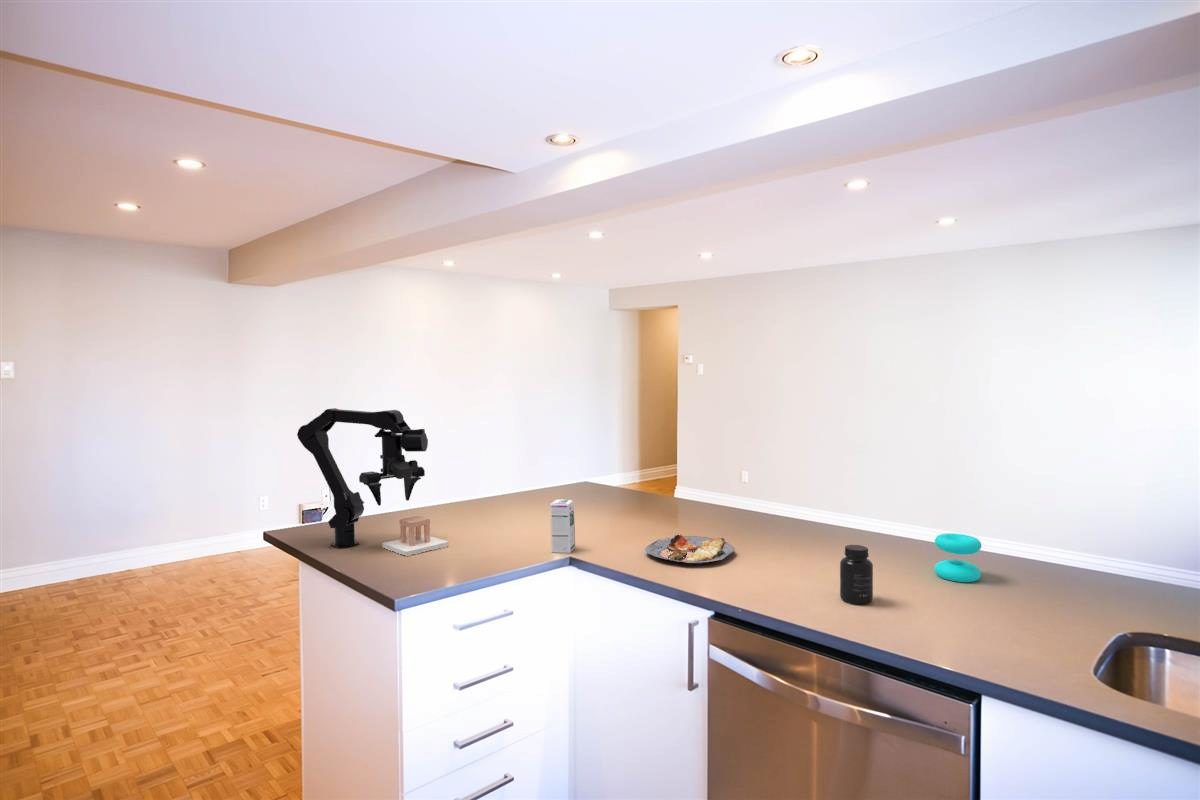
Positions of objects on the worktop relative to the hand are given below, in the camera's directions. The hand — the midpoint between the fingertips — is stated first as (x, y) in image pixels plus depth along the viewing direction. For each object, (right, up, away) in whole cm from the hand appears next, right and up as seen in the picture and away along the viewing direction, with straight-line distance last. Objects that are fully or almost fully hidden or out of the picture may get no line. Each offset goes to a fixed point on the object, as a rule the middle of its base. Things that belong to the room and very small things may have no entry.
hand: (393, 502), depth 194 cm
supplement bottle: (+120, -14, -51) cm, 131 cm away
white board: (+7, -13, -2) cm, 15 cm away
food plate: (+88, -13, -13) cm, 90 cm away
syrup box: (+52, -13, -8) cm, 54 cm away
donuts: (+151, -13, -36) cm, 156 cm away
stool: (+7, -12, -2) cm, 14 cm away
